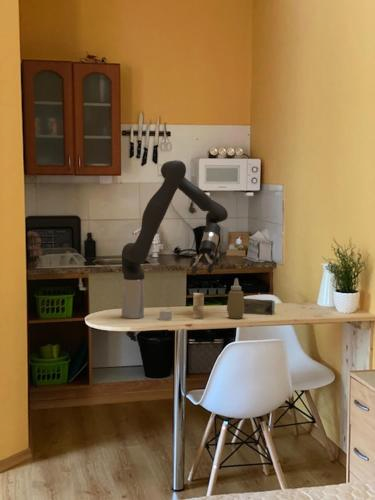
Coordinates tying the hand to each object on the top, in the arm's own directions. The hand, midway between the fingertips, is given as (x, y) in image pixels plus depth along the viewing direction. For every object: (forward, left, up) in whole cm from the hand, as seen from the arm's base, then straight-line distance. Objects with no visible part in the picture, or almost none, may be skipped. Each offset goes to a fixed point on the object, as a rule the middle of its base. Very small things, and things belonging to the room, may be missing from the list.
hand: (201, 273), depth 291 cm
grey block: (-13, -11, -20) cm, 26 cm away
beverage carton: (+22, +20, -20) cm, 36 cm away
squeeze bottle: (+16, +3, -20) cm, 26 cm away
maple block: (0, -3, -20) cm, 20 cm away
